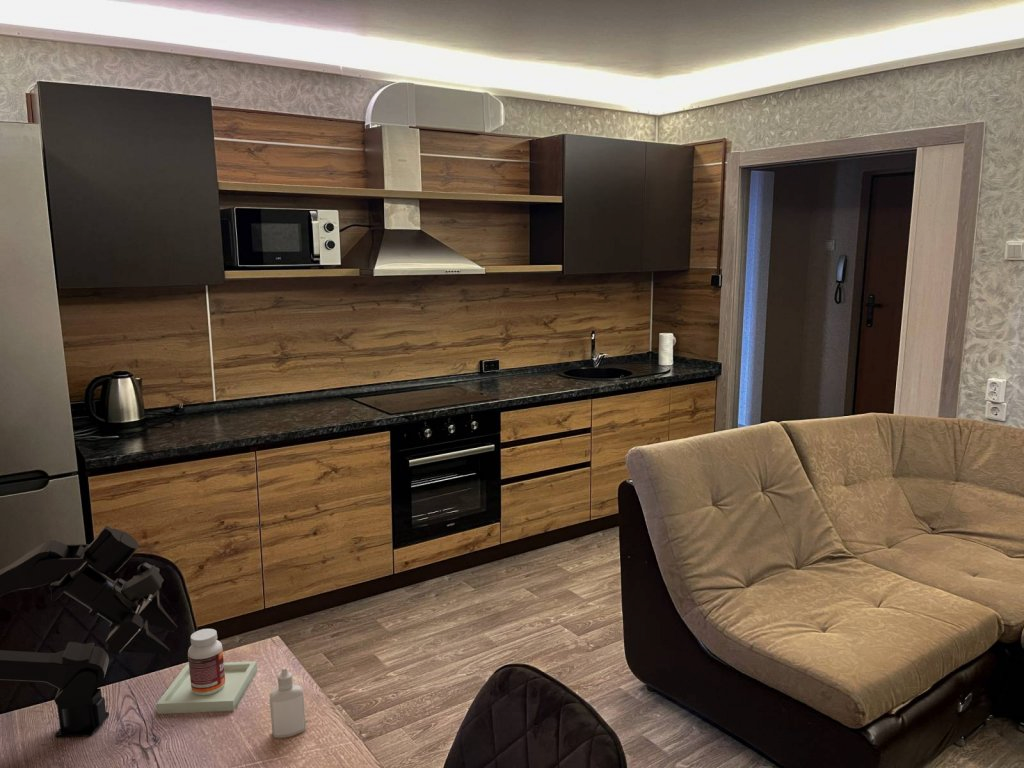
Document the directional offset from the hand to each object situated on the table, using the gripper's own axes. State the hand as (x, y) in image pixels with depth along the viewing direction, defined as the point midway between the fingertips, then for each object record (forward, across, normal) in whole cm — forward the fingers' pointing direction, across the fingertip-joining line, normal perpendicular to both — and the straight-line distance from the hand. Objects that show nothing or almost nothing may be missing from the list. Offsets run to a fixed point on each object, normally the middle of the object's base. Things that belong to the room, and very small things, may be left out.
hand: (172, 640), depth 137 cm
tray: (+13, +4, +6) cm, 15 cm away
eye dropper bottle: (+24, -14, -4) cm, 28 cm away
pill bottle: (+13, +4, +6) cm, 15 cm away
